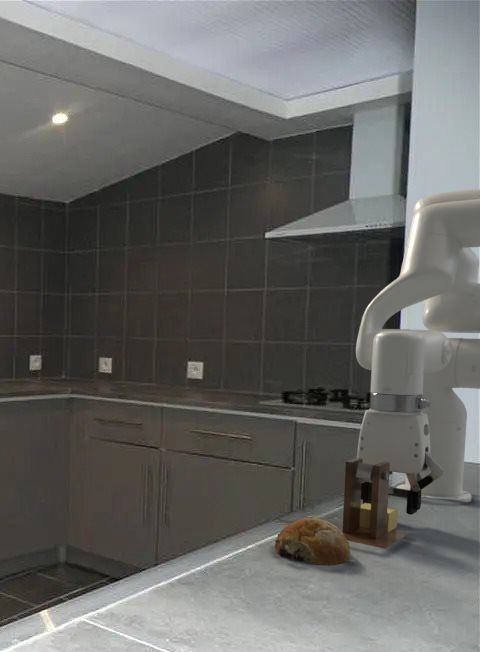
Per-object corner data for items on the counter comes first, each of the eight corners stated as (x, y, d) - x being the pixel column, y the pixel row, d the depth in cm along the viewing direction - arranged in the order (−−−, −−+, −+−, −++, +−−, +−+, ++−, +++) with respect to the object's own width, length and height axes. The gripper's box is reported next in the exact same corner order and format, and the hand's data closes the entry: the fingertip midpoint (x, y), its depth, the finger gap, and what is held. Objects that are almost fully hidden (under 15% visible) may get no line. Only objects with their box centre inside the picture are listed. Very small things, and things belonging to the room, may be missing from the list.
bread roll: (349, 596, 101) (377, 546, 100) (284, 565, 101) (311, 515, 100) (317, 571, 111) (341, 526, 110) (258, 543, 111) (282, 498, 110)
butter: (364, 521, 121) (365, 502, 121) (396, 527, 118) (397, 508, 117) (354, 525, 119) (355, 507, 119) (388, 532, 115) (389, 513, 115)
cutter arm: (372, 496, 125) (375, 482, 125) (411, 502, 120) (413, 488, 121) (342, 474, 115) (345, 460, 116) (383, 481, 111) (386, 466, 111)
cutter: (345, 526, 123) (349, 452, 122) (411, 539, 115) (415, 461, 114) (316, 540, 115) (319, 462, 114) (384, 556, 107) (388, 472, 106)
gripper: (462, 407, 117) (455, 515, 118) (349, 398, 129) (344, 496, 131) (448, 411, 112) (441, 523, 113) (332, 401, 124) (327, 503, 126)
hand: (389, 508), depth 122 cm, fingers closed on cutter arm, 6 cm apart
